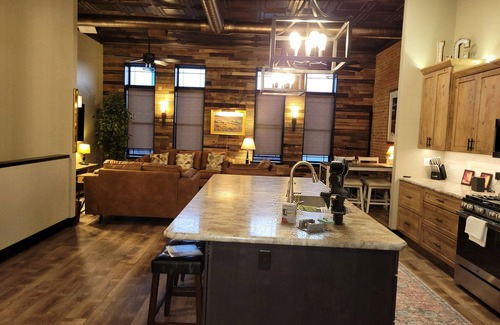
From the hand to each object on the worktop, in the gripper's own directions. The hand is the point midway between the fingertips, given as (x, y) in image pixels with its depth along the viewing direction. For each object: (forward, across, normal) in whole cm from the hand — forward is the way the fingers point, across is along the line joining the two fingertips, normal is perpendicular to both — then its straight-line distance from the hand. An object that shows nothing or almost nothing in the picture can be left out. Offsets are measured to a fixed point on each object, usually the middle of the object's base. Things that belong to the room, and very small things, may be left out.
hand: (334, 208), depth 222 cm
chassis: (+12, -14, +4) cm, 19 cm away
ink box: (+13, -16, +25) cm, 32 cm away
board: (+9, -3, +4) cm, 10 cm away
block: (+13, -3, +4) cm, 14 cm away
